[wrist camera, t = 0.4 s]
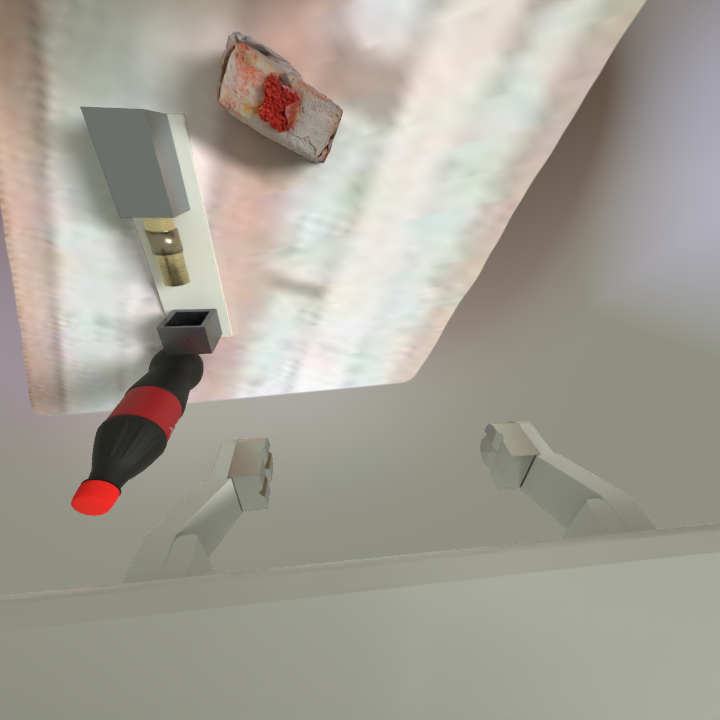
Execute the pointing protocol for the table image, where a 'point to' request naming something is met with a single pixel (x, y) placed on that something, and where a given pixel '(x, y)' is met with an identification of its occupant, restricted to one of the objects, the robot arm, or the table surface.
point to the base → (190, 243)
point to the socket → (190, 331)
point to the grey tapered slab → (138, 161)
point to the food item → (276, 99)
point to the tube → (167, 250)
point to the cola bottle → (137, 429)
